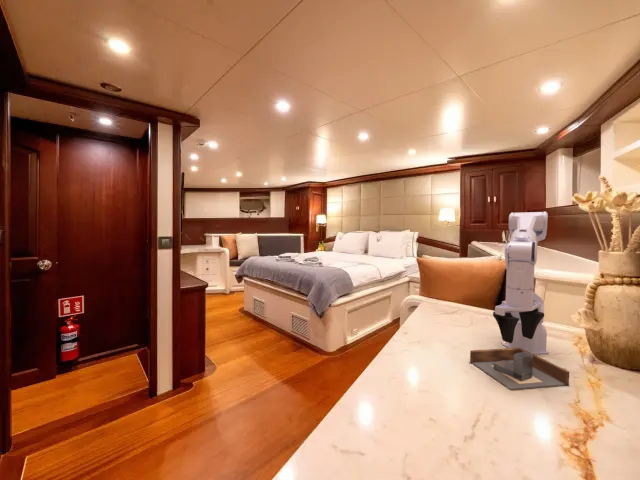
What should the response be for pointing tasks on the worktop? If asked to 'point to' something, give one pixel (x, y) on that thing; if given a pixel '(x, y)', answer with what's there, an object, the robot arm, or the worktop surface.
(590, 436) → the worktop surface
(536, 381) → the corner mat
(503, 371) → the angle bracket
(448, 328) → the worktop surface
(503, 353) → the corner walls
